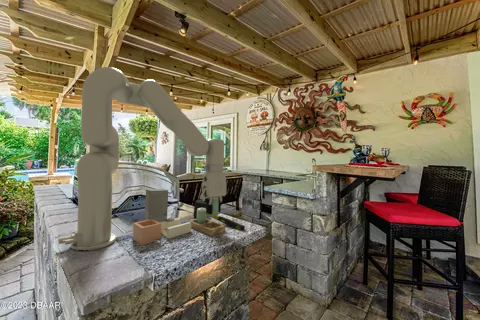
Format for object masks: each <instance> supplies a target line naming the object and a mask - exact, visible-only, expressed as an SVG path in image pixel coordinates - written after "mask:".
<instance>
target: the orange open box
mask: <svg viewBox="0 0 480 320" xmlns="http://www.w3.org/2000/svg"><path fill="white" fill-rule="evenodd" d="M132 226H133V227H132V240H134V241H135V242H136V243H137V244H139V245H140V246H143V245H147V244H150V243H153V242H156V241H159V239H160V238H161V236H162V235H161V223H159V222H157V221H155V220H153V219H150V220H145V221H144V220H141V221H137V222H133V225H132Z"/></svg>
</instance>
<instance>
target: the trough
mask: <svg viewBox="0 0 480 320" xmlns="http://www.w3.org/2000/svg"><path fill="white" fill-rule="evenodd" d="M187 222H191V229H195V230H197V232H198V231H199V232H201V233H203V234H206V235H208V236H210V237H212V236H215V235H218V234H220V233H222V232H225V231H226V226H227V225H226V224H224V223H221V222H218V221H217V222H216V221H215V220H212V219H209V218H206V223H203V224H198V223H196V222H197V219H194V218H193V219H190V220H188V221H187Z"/></svg>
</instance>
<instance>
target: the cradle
mask: <svg viewBox="0 0 480 320" xmlns="http://www.w3.org/2000/svg"><path fill="white" fill-rule="evenodd" d="M159 223H161V236H163V237H165V238H166V239H171V238H175V237H178V236H181V235H185V234H187V233H191V232H192V227H191V222H188V221H187V222H184V223H182V218H181V217H175V218H173V217H167V219H165V221H163V222H159ZM166 228H167V231H166Z"/></svg>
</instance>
